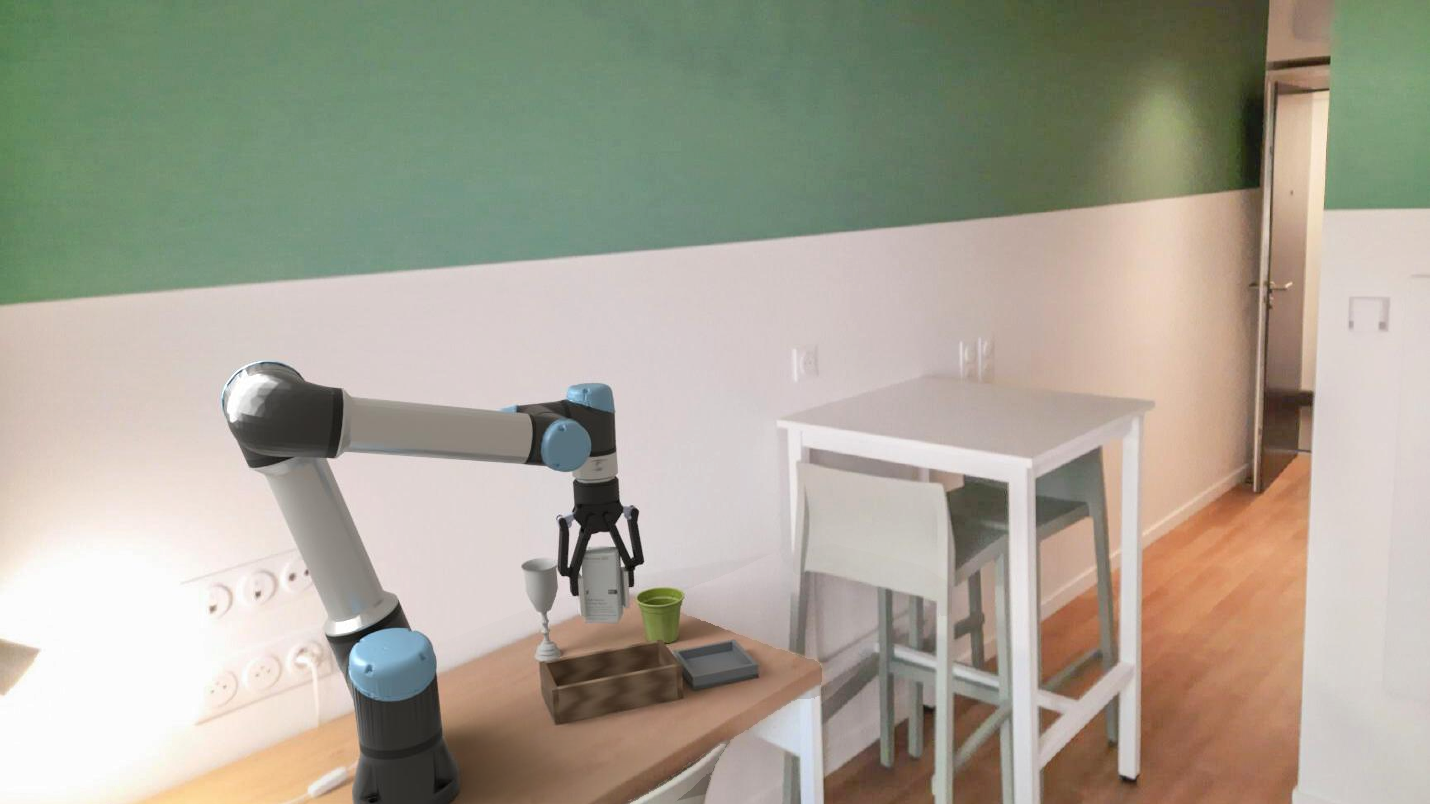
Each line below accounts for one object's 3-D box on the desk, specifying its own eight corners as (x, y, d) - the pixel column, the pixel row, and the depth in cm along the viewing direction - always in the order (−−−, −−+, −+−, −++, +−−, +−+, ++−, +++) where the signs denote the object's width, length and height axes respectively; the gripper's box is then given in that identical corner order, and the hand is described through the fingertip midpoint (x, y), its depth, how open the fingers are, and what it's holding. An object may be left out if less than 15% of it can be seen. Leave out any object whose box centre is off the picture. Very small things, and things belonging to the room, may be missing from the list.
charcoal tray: (693, 690, 186) (693, 677, 186) (673, 663, 197) (672, 650, 197) (758, 677, 190) (758, 664, 190) (735, 651, 201) (734, 639, 201)
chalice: (558, 664, 200) (550, 571, 196) (523, 662, 201) (515, 570, 198) (571, 647, 207) (564, 557, 203) (537, 646, 208) (529, 557, 205)
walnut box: (554, 724, 177) (552, 690, 176) (541, 694, 188) (539, 661, 187) (683, 698, 184) (681, 665, 182) (663, 670, 195) (661, 639, 194)
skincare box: (584, 624, 181) (578, 554, 179) (590, 613, 185) (584, 546, 183) (620, 623, 180) (615, 553, 178) (625, 613, 185) (620, 545, 183)
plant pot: (696, 633, 210) (693, 591, 209) (668, 652, 203) (666, 608, 201) (656, 625, 215) (654, 584, 214) (628, 643, 208) (625, 600, 206)
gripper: (539, 490, 172) (549, 626, 176) (659, 475, 178) (666, 607, 182) (531, 479, 179) (541, 611, 183) (647, 465, 185) (654, 593, 189)
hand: (603, 609), depth 183 cm, fingers closed on skincare box, 7 cm apart
